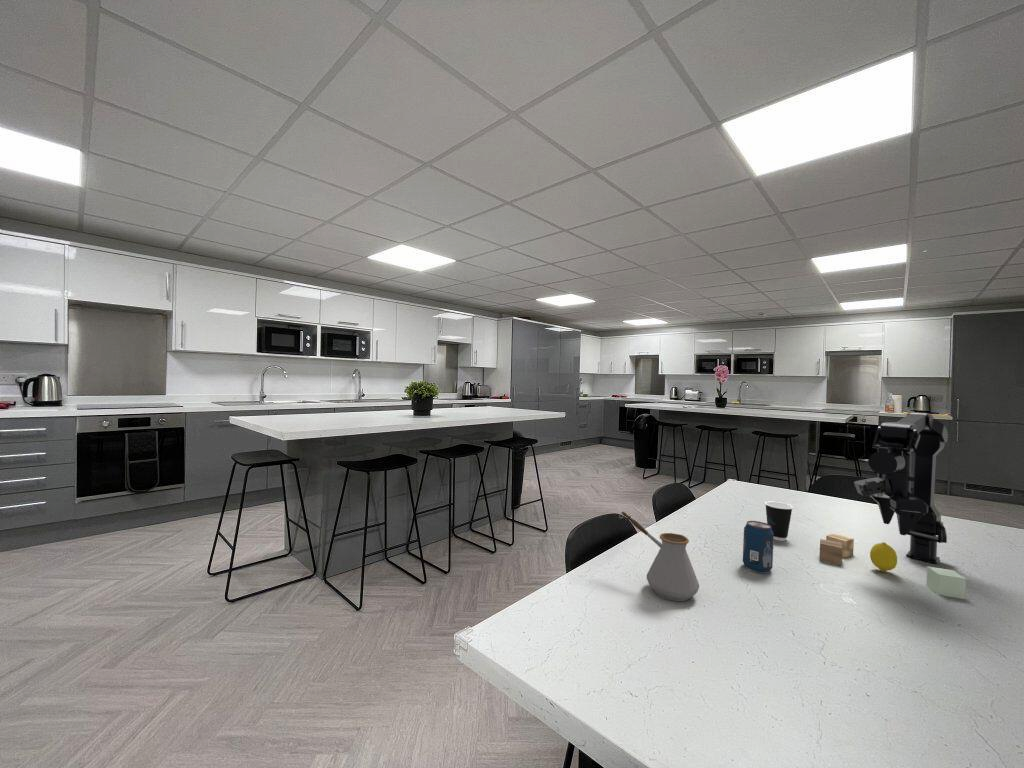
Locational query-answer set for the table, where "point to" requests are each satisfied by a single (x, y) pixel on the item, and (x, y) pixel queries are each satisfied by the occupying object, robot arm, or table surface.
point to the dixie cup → (778, 519)
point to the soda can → (758, 546)
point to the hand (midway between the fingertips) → (894, 529)
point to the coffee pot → (670, 566)
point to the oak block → (843, 543)
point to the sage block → (946, 582)
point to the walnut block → (831, 552)
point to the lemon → (883, 557)
